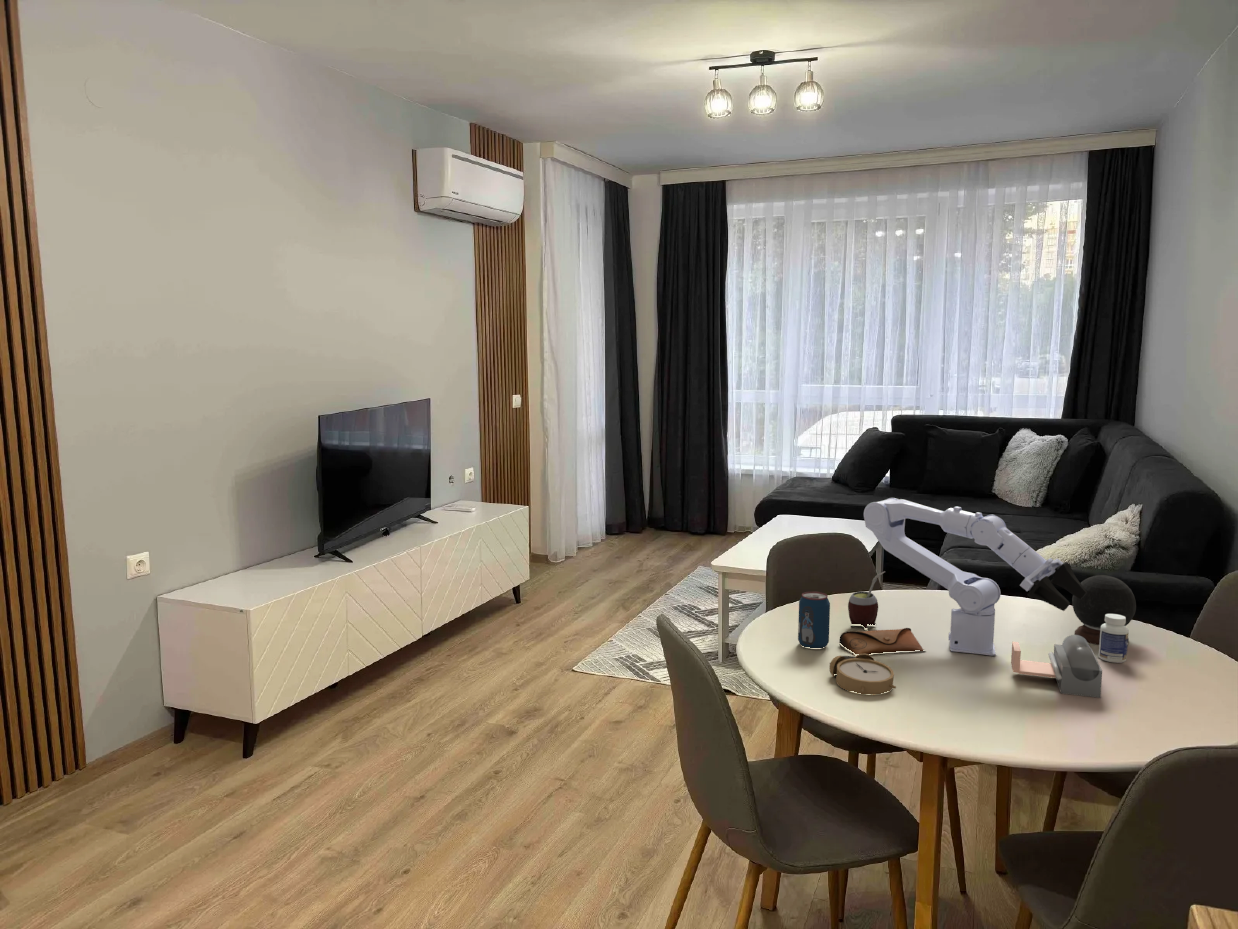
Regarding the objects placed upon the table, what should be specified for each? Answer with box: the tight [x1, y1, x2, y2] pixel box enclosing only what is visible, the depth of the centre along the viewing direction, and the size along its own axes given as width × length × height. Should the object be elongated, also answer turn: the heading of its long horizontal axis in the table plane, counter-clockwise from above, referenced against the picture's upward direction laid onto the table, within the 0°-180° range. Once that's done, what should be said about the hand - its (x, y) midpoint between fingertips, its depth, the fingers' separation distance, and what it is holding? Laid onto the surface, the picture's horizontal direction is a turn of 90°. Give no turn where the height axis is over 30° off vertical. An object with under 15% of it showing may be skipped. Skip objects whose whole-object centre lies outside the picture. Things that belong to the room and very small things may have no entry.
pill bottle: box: [1098, 614, 1129, 664], centre depth 196 cm, size 5×5×10 cm
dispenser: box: [1048, 634, 1103, 699], centre depth 182 cm, size 8×14×8 cm, turn 160°
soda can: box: [797, 591, 831, 648], centre depth 205 cm, size 7×7×12 cm
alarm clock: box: [828, 654, 897, 694], centre depth 183 cm, size 11×5×15 cm
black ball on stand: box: [1071, 574, 1137, 646], centre depth 209 cm, size 13×13×15 cm
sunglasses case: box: [838, 627, 925, 654], centre depth 204 cm, size 18×7×7 cm, turn 102°
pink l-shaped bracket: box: [1010, 641, 1056, 679], centre depth 184 cm, size 14×7×5 cm, turn 70°
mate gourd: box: [847, 570, 886, 628], centre depth 217 cm, size 8×8×15 cm
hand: (1075, 601), depth 187 cm, fingers open, 7 cm apart
